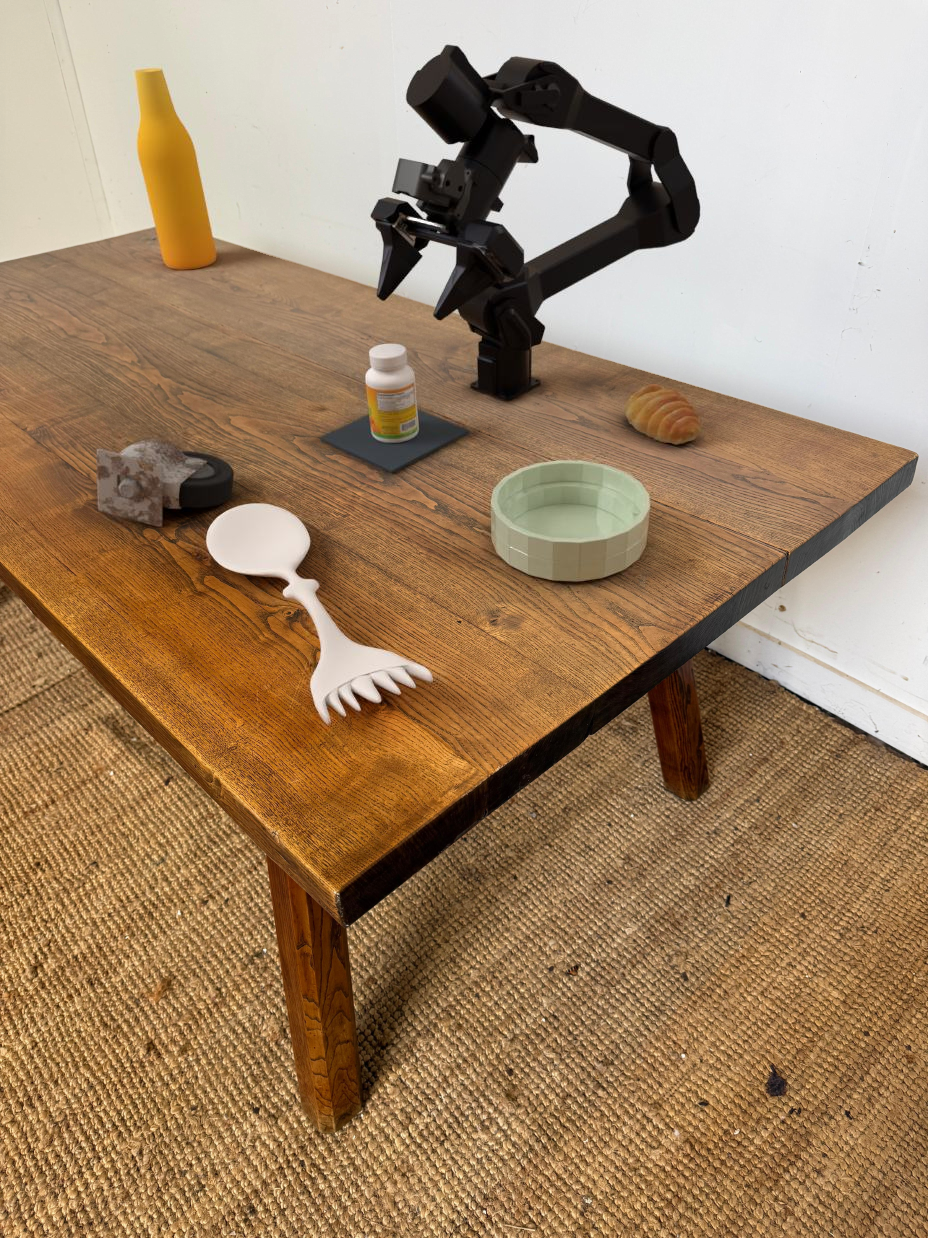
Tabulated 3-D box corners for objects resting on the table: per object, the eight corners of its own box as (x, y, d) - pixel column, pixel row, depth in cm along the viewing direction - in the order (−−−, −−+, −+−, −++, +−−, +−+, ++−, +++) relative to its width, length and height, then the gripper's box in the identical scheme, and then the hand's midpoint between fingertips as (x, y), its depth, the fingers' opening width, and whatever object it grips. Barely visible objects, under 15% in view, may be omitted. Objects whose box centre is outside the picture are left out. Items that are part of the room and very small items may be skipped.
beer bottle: (191, 273, 150) (147, 75, 132) (153, 266, 154) (104, 72, 136) (228, 257, 156) (191, 66, 138) (190, 251, 160) (149, 64, 142)
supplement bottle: (375, 422, 102) (366, 340, 96) (421, 422, 102) (415, 340, 96) (367, 444, 98) (358, 360, 92) (415, 444, 97) (409, 360, 91)
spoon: (328, 752, 62) (322, 718, 60) (197, 541, 84) (189, 510, 82) (440, 705, 66) (437, 670, 64) (286, 514, 88) (280, 483, 86)
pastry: (715, 439, 96) (720, 407, 94) (664, 454, 94) (668, 421, 92) (665, 406, 103) (668, 375, 101) (616, 420, 101) (618, 389, 99)
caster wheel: (243, 502, 95) (203, 542, 86) (143, 476, 95) (94, 513, 87) (247, 445, 91) (207, 479, 83) (144, 418, 92) (93, 449, 83)
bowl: (556, 485, 90) (557, 445, 87) (675, 534, 82) (680, 492, 79) (461, 544, 82) (459, 503, 79) (582, 605, 74) (585, 561, 72)
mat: (396, 404, 107) (396, 401, 106) (469, 433, 100) (469, 429, 100) (320, 440, 100) (319, 437, 100) (392, 473, 93) (391, 470, 93)
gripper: (375, 112, 91) (304, 248, 92) (503, 132, 80) (421, 285, 82) (435, 180, 100) (370, 303, 101) (558, 206, 89) (484, 344, 91)
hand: (407, 308), depth 93 cm, fingers open, 9 cm apart
